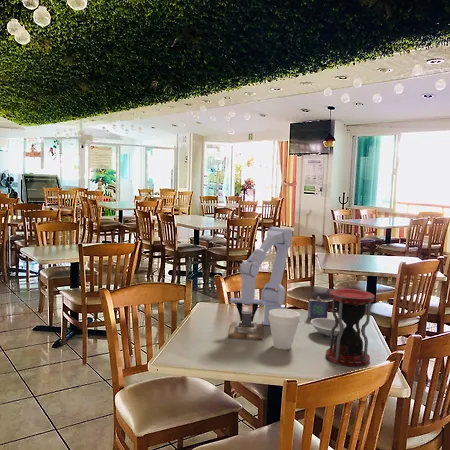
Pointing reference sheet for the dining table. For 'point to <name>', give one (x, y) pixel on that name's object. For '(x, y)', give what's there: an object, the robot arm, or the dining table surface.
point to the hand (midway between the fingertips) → (246, 320)
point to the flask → (317, 308)
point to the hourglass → (349, 327)
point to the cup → (283, 327)
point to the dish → (325, 326)
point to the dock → (246, 331)
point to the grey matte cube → (246, 318)
